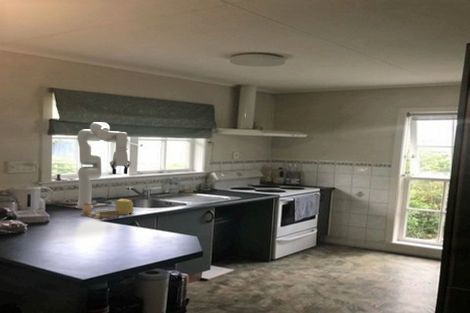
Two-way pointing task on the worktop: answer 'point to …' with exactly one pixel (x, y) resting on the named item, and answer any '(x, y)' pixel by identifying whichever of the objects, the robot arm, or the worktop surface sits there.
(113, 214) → the lane
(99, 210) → the pusher
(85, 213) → the jar
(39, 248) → the worktop surface
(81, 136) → the robot arm
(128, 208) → the yellow rounded block
